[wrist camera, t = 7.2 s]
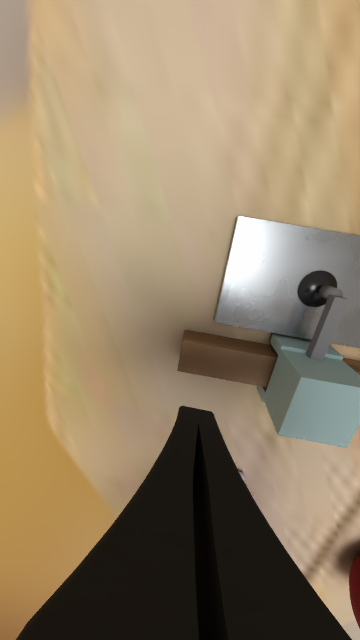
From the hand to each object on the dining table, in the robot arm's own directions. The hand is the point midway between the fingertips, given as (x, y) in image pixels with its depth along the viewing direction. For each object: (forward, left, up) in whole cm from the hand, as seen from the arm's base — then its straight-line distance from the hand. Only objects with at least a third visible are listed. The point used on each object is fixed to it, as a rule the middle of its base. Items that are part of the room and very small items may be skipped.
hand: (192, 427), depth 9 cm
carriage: (+1, -7, -8) cm, 11 cm away
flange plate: (+5, -12, -9) cm, 16 cm away
